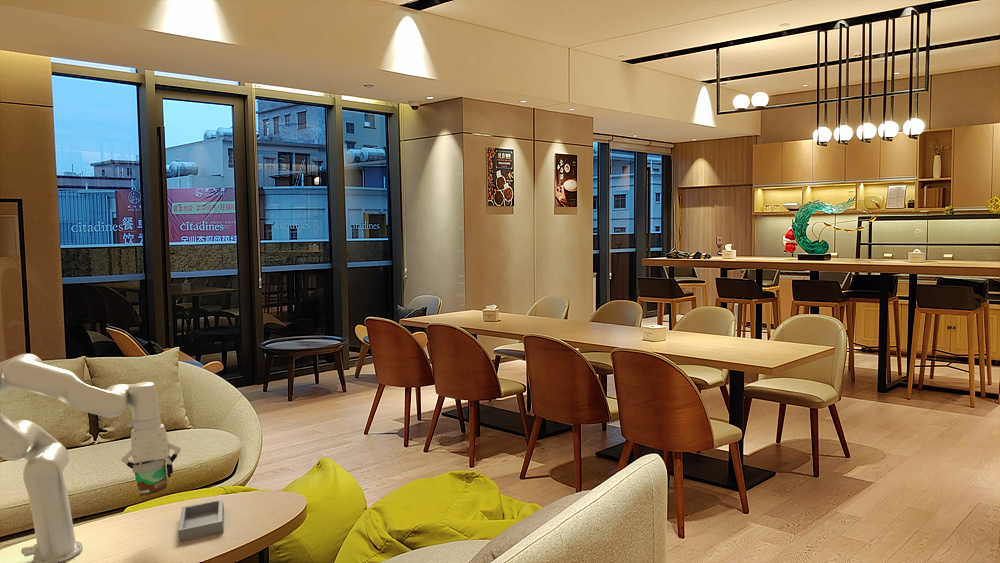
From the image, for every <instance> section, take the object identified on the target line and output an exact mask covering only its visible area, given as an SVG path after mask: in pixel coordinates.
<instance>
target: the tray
mask: <svg viewBox="0 0 1000 563" xmlns="http://www.w3.org/2000/svg"><path fill="white" fill-rule="evenodd" d="M224 520H225V506H224V499H223V498H220V499H215V500H211V501H205V502H199V503H195V504H191V505H186V506H185V505H184V506H182V507H181V511H180V517H179V524H178V528H177V532H178V534H177V535H178V538H179V539H178V540H179V543H180V542H184V541H188V540H194V539H198V538H203V537H206V536H212V535H216V534H222V533H224V531H225V530H224V528H225V527H224V526H225V525H224V524H225V523H224V522H225V521H224Z"/></svg>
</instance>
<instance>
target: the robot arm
mask: <svg viewBox="0 0 1000 563" xmlns="http://www.w3.org/2000/svg"><path fill="white" fill-rule="evenodd" d="M75 374H76V373H73V372H72V371H71V370H68V369H64V368H60V367H56V366H54V365H53V366H52V365H49V364H45V363H44V362H43V360H42V359H41V358H40V357H38V356H37V355H35V354H33V353H22V354H19V355H15V356H13V357H11V358H9V359H6V360H3V361H0V394H1V393H4V392H6V391H8V390H11V389H14V388H15V389H18V390H21V391H26V392H31V393H34V394H38V395H41V396H45V397H49V398H52V399H56V400H58V401H60V402H62V403H64V404H65V405H68V406H70V407H72V408H74V409H76V410H79V411H82V412H85V413H89V414H93V415H97V416H99V417H104V418H115V417H118V416H120V415H121V414H123V412H124V411H125V410H126V408H128V407H130V410H131V411H130V412H131V416H132V420H131V421H129V422H127V427H128V428H129V427H130V428H133V429H132V430H131V433H130V448H131V449H130V450H129V451H128V452H127V453H126V454H125V455H124V456H122V457H121V462H122V463H124V464H125V465H126V467H128V468H130V469H132V470H133V465H140V464H141V463H145V462H150V461H156V460H161V459H164V460H165V461H166V475H167V478H171V477H172V474H173V473H174V468H173V463H174V461H175V460H176V458H177V457H178V456H179V454H180V452H181V450H182V448H181V447H180V446H177V445H176V444H174V443H171V442H169V438H168V437H169V436H168V434H167V430H166V428H165V425H164V423H162V421H161V413H160V405H159V397H158V391H157V386H156V383H154V382H152V381H141V382H137V383H134V384H121V383H120V384H113V385H110V386H108V387H107V388H106V389H101V388H99V387H96V386H91V385H89V384H87V383H85V382H84V381H81V379H79V378H78V376H77V375H75ZM171 450H172V451H174V453H173V454H172V455H170V451H171ZM131 457H132V460H130V458H131ZM0 458H2V459H3V460H4V461H5V460H6V461H9V462H16V461H19V460H22V459H25V460H26V463H25V465H24V468H23V473H22V475H23V476H22V477H23V478H22V479H23V482H24V485H25V488H26V492H27V496H28V500H29V506H30V510H31V515H32V522H33V529H34V534H35V539H36V544H33V545H32V546H25V547H22V548H21V551H20V552H21V556H22V555H24V557H30V556H33V557H32V560H33V563H34V562H35V563H58V562H59V563H62V562H65V561H68V560H70V559H72V558H74V557H76V556H77V555H78V554H80V553H81V552H82V550H83V543H82V542H81V541H77V540H76V535H75V530H74V523H73V518H72V517H73V516H72V511H71V505H70V499H69V495H68V489H67V488H68V487H67V485H66V481H65V480H64V471H65V469H66V467H67V465H68V464H69V461H70V460H69V459H70V454H69V452H68V450H67V448H66V447H65V446H64V445H63V444H62V443H61V442H60V441H59V440H57V439H56V438H55V437H54V436H52V435H51V434H50V433H49V432H47V431H46V430H45V429H44V428H42V427H41V426H39V425H38V424H37V423H35V422H33V421H31V420H27V419H18V420H15V421H12V420H10V419H9V418H8V417H7V416H6V415H4V414H3V413H2V412H0ZM134 477H135V476H134ZM135 479H136V477H135Z"/></svg>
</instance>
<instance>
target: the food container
mask: <svg viewBox="0 0 1000 563" xmlns="http://www.w3.org/2000/svg"><path fill="white" fill-rule="evenodd" d="M166 465H167V462H166V461H165V460H164V459H161V460H156V461H150V462H145V463H140V465H133V469H132V473H133V474H134V477H136V478H135V481H136V485H137V488H138V492H139V496H140V497H142V496H144V497H145V496H150V495H153V494H157V493H159V492H162V491H164V490H165V489H166V488H167V487H168V480H167V479H168V474H167V467H166Z"/></svg>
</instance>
